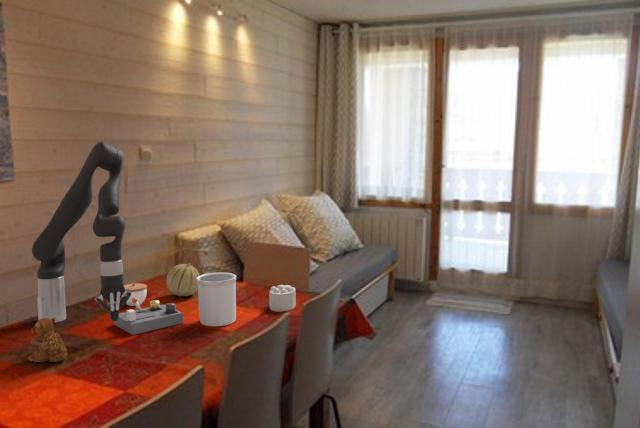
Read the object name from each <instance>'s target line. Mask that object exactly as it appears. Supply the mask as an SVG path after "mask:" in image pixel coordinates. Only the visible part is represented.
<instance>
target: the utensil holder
mask: <svg viewBox="0 0 640 428" xmlns="http://www.w3.org/2000/svg"><path fill="white" fill-rule="evenodd" d="M199 275H200V274H199ZM236 281H237V275H236V274H234V273H231V272H208V273H203V274H201V275H200V276H198V277H197V283H198V289H197V295H198V296H197V297H198V298H197V299H198V310H199V311H198V312H199V321H200V324H201V325H202V326H203V325H204V326H206V327H222V326H228V325H230V324H233V323H235V322H236V319H237V299H236V298H237V295H236V294H237V293H236V292H237V291H236V289H237V285H236Z"/></svg>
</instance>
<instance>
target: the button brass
mask: <svg viewBox="0 0 640 428" xmlns="http://www.w3.org/2000/svg"><path fill="white" fill-rule="evenodd" d="M160 305H161V303H160V300H159V299H153V300H150V301H149V307H150V310H158V309H160Z"/></svg>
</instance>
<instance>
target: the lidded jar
mask: <svg viewBox="0 0 640 428" xmlns="http://www.w3.org/2000/svg"><path fill="white" fill-rule="evenodd" d="M124 288H125V290H126V291H128V292H130V293H131V296H130V297H129V299H128V301H127V302H126V304H125V305H127V306H129V307H136V305H135V304H134V303H133V302H132V299H133V298H137V302H138V304H139V306H141V305H142V304H143V302H145V300H146V298H147V293H148V292H147V291H148V285H147V284H146V283H135V282H133V281H132V283H129V284H124ZM122 297H123V295H122ZM122 297H121V298H122Z"/></svg>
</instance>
